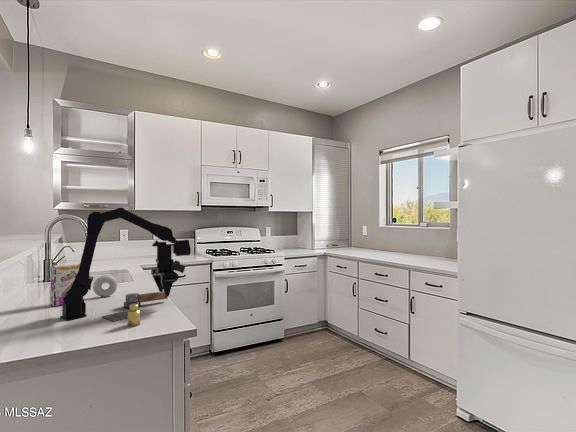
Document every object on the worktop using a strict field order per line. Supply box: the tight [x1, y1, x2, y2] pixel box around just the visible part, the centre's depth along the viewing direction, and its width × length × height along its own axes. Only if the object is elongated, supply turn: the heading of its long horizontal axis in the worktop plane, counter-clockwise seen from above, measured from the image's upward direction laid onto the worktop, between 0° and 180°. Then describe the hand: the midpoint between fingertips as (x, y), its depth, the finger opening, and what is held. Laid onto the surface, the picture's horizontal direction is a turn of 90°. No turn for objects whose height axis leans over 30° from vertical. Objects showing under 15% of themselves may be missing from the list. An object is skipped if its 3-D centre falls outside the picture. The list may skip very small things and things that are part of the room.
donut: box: [92, 274, 118, 298], centre depth 151 cm, size 10×4×10 cm, turn 125°
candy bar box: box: [49, 263, 84, 307], centre depth 140 cm, size 11×5×16 cm, turn 144°
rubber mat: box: [101, 310, 127, 322], centre depth 123 cm, size 8×8×1 cm
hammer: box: [123, 290, 169, 309], centre depth 139 cm, size 17×6×4 cm, turn 126°
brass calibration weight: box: [126, 304, 141, 328], centre depth 114 cm, size 4×4×7 cm
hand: (164, 293), depth 138 cm, fingers open, 9 cm apart
